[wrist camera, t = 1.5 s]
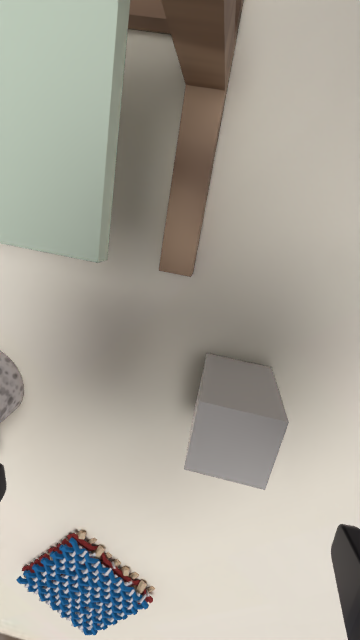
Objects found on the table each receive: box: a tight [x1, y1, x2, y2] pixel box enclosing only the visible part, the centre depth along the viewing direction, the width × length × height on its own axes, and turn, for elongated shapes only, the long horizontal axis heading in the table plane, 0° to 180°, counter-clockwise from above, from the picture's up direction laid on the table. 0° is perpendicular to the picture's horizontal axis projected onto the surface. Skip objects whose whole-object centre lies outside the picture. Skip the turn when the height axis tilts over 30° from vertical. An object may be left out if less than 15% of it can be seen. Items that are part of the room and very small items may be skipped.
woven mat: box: [17, 530, 155, 635], centre depth 30 cm, size 10×11×2 cm
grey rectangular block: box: [184, 353, 289, 490], centre depth 18 cm, size 4×4×6 cm
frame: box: [128, 0, 244, 277], centre depth 13 cm, size 14×16×10 cm
